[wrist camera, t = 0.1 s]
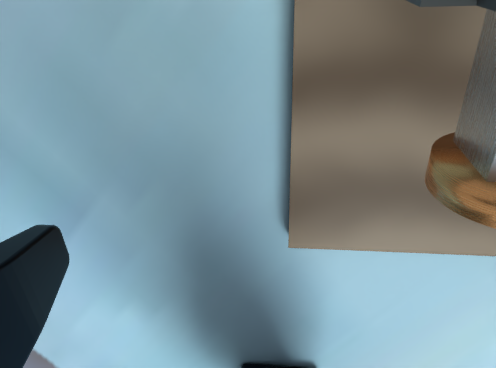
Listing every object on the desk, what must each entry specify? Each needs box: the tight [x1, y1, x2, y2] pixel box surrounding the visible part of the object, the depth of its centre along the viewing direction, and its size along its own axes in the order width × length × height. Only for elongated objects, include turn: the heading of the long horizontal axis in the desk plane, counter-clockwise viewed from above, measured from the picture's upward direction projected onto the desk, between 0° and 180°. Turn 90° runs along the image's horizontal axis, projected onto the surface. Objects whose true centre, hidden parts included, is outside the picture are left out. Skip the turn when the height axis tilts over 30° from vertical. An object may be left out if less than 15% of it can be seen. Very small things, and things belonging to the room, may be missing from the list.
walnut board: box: [288, 0, 496, 256], centre depth 20 cm, size 20×15×1 cm
